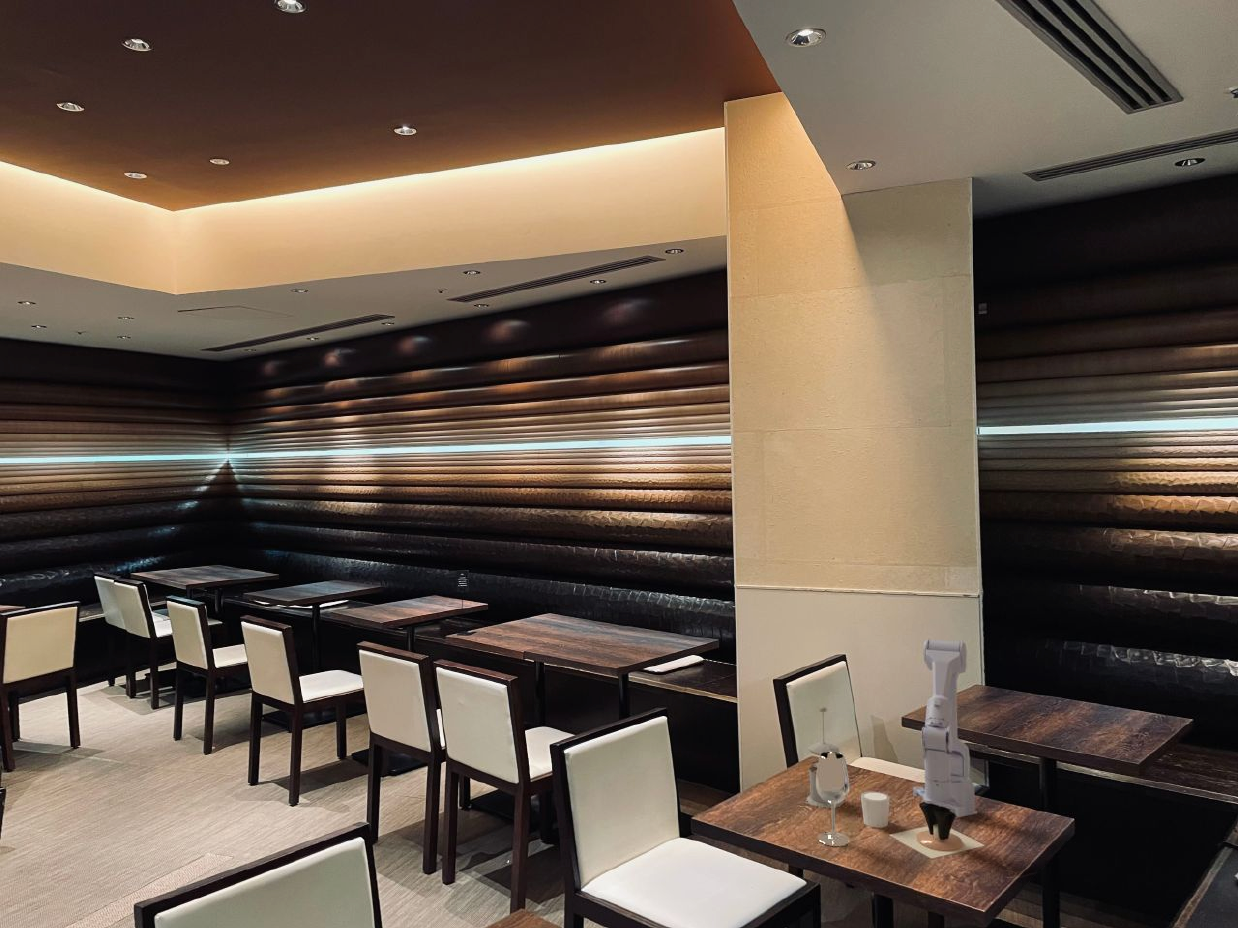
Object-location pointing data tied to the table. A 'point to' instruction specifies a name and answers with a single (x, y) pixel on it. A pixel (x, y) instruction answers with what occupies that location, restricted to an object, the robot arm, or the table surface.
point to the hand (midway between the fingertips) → (939, 836)
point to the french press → (816, 749)
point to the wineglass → (832, 791)
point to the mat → (911, 841)
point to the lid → (935, 841)
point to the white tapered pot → (875, 809)
